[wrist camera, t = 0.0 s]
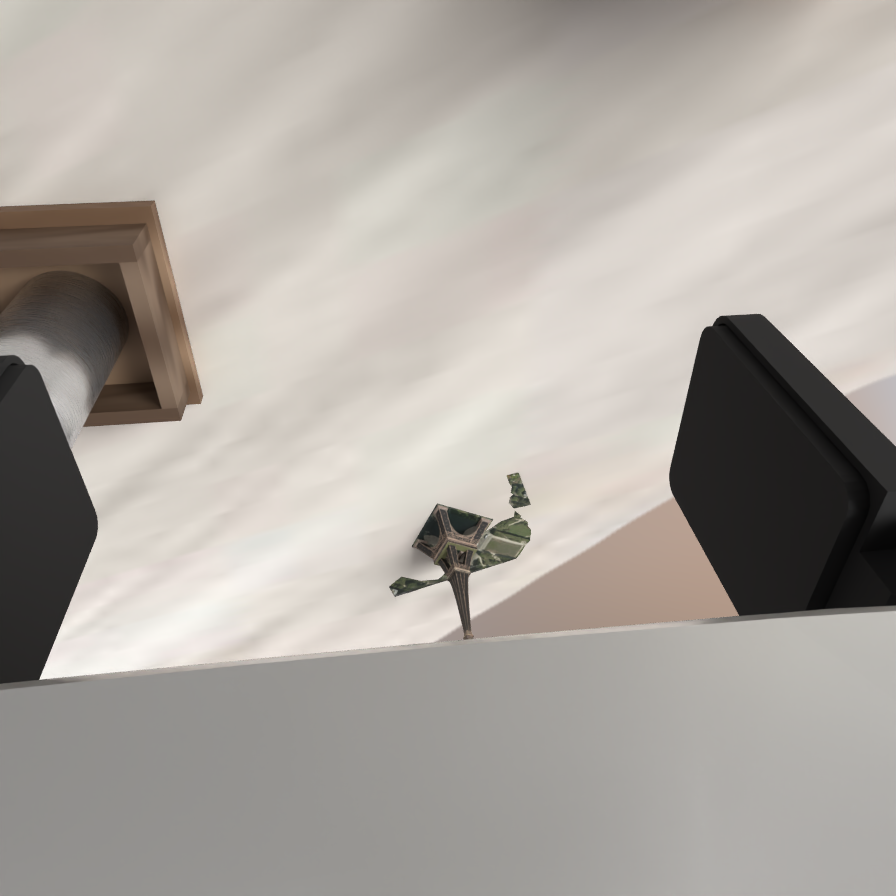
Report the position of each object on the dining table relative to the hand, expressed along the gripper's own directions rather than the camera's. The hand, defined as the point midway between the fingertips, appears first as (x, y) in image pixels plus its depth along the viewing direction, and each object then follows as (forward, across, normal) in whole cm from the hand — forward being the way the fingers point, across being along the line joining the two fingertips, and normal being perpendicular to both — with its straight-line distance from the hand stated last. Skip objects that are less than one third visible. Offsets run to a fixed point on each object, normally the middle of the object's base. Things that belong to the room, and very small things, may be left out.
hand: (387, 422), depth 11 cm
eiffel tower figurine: (+38, -5, +38) cm, 54 cm away
